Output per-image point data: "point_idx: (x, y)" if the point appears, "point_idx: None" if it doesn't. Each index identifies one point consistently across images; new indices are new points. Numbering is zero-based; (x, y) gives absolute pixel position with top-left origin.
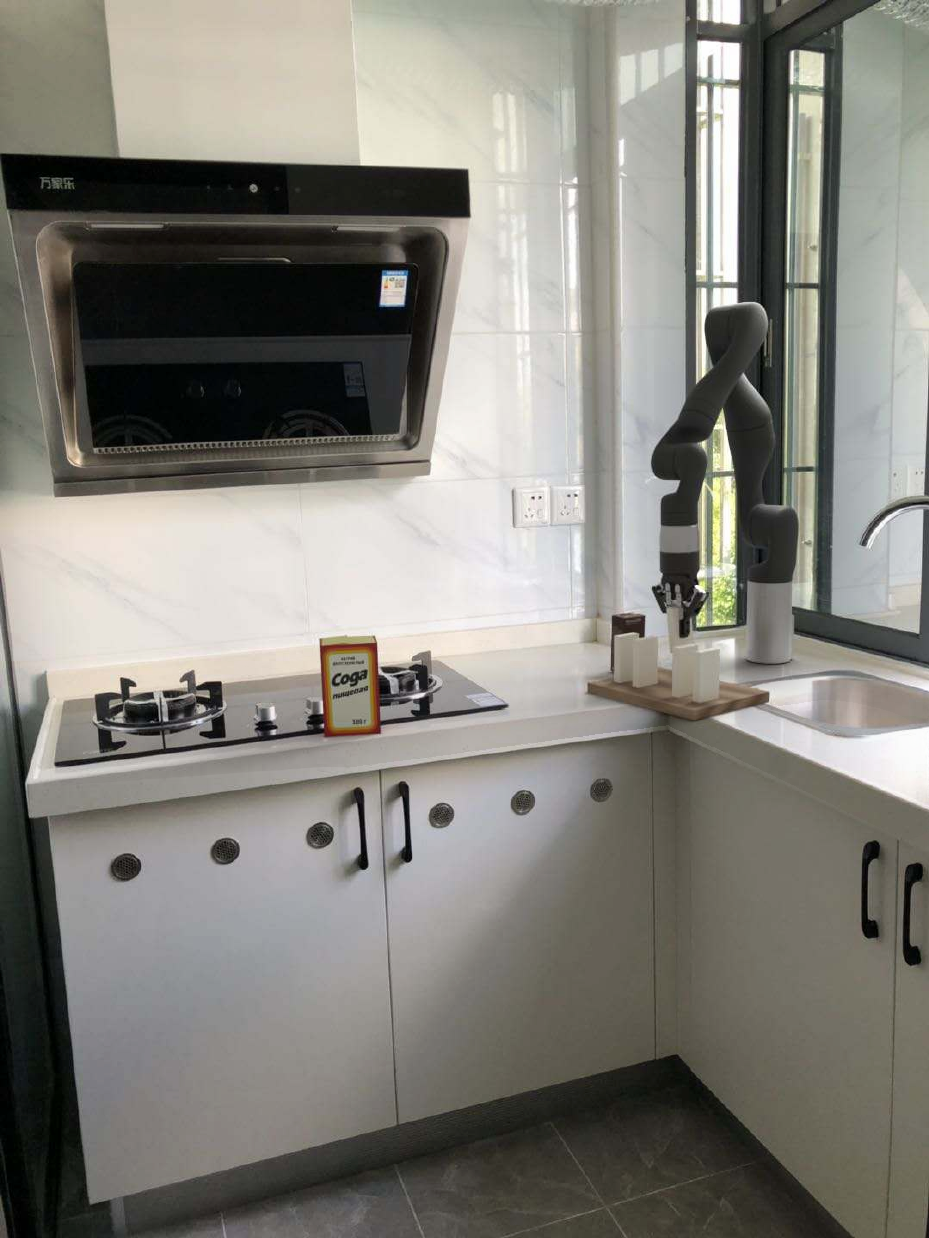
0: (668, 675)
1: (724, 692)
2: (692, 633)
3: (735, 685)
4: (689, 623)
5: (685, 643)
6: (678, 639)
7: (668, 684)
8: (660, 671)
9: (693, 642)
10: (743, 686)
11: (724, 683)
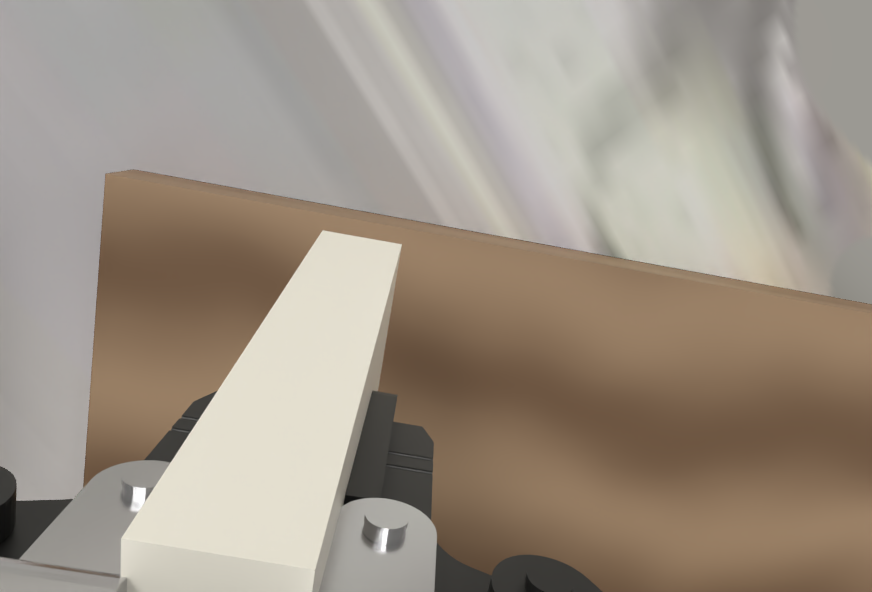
0: None
1: (823, 522)
2: (386, 303)
3: (807, 332)
4: (428, 507)
5: (377, 377)
6: None
7: (448, 551)
8: (187, 286)
9: (397, 262)
10: (863, 325)
11: (724, 329)
